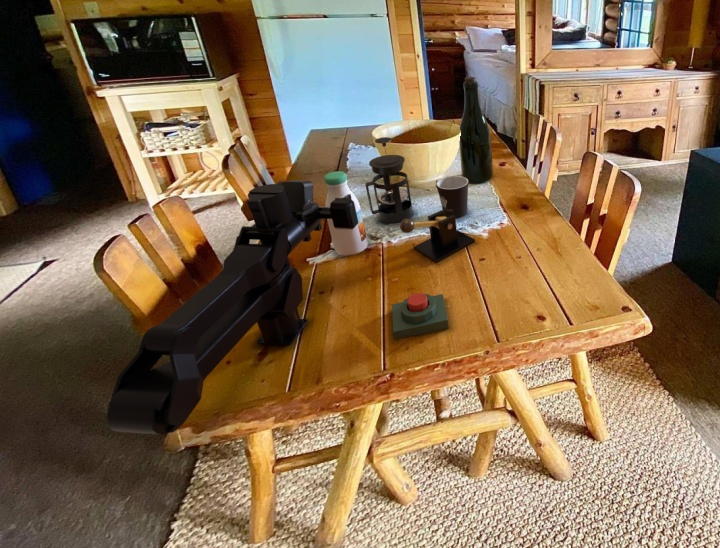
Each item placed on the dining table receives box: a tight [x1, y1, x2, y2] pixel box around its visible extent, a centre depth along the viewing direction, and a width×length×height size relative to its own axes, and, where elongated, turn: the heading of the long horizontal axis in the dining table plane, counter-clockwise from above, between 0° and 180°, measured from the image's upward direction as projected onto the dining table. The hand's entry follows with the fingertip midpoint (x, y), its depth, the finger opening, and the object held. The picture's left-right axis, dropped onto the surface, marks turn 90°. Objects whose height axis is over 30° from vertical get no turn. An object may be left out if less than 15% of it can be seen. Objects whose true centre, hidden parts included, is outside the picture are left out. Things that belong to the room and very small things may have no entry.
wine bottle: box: [458, 76, 494, 184], centre depth 139 cm, size 10×10×33 cm
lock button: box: [407, 292, 428, 312], centre depth 84 cm, size 4×4×2 cm
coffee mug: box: [435, 175, 469, 220], centre depth 123 cm, size 12×9×10 cm
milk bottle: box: [323, 170, 369, 256], centre depth 105 cm, size 8×8×20 cm
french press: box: [365, 136, 415, 226], centre depth 118 cm, size 12×9×23 cm
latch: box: [399, 216, 447, 234], centre depth 102 cm, size 13×3×3 cm, turn 140°
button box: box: [391, 293, 450, 340], centre depth 85 cm, size 10×8×4 cm
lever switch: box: [413, 209, 476, 264], centre depth 108 cm, size 12×9×9 cm
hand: (330, 195), depth 99 cm, fingers open, 9 cm apart
